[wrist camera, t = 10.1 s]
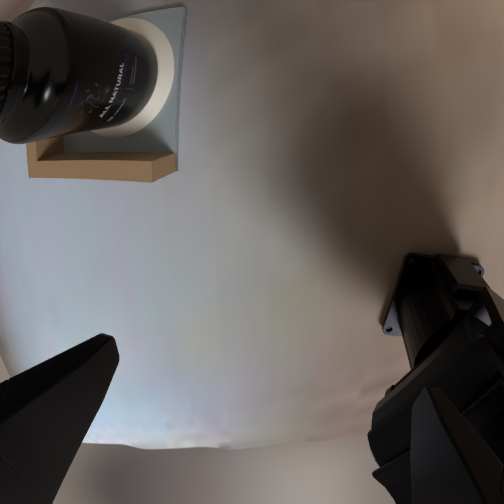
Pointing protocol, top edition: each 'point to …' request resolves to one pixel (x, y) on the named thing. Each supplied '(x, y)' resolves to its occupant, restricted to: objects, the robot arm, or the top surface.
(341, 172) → the top surface
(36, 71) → the supplement bottle
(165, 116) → the corner arena
